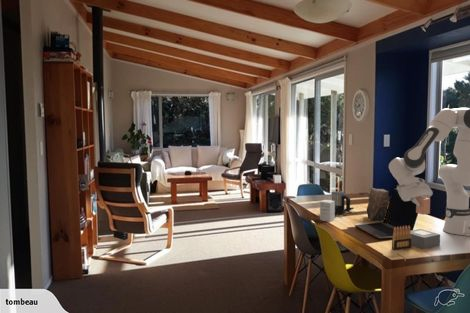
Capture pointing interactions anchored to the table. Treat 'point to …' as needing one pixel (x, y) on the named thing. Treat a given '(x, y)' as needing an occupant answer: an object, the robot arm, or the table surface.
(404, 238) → the ammunition clip
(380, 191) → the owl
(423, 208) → the block
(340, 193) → the milk frother
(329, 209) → the supplement box
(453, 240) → the table surface
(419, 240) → the base block
